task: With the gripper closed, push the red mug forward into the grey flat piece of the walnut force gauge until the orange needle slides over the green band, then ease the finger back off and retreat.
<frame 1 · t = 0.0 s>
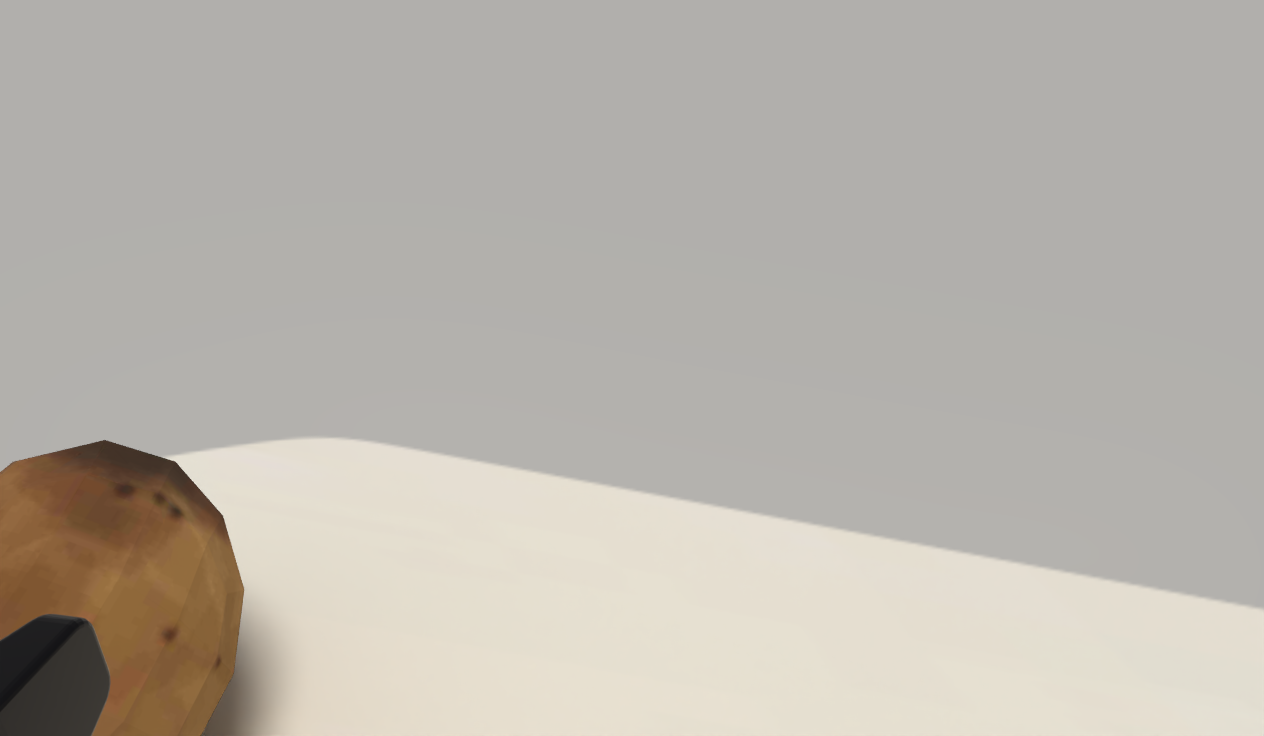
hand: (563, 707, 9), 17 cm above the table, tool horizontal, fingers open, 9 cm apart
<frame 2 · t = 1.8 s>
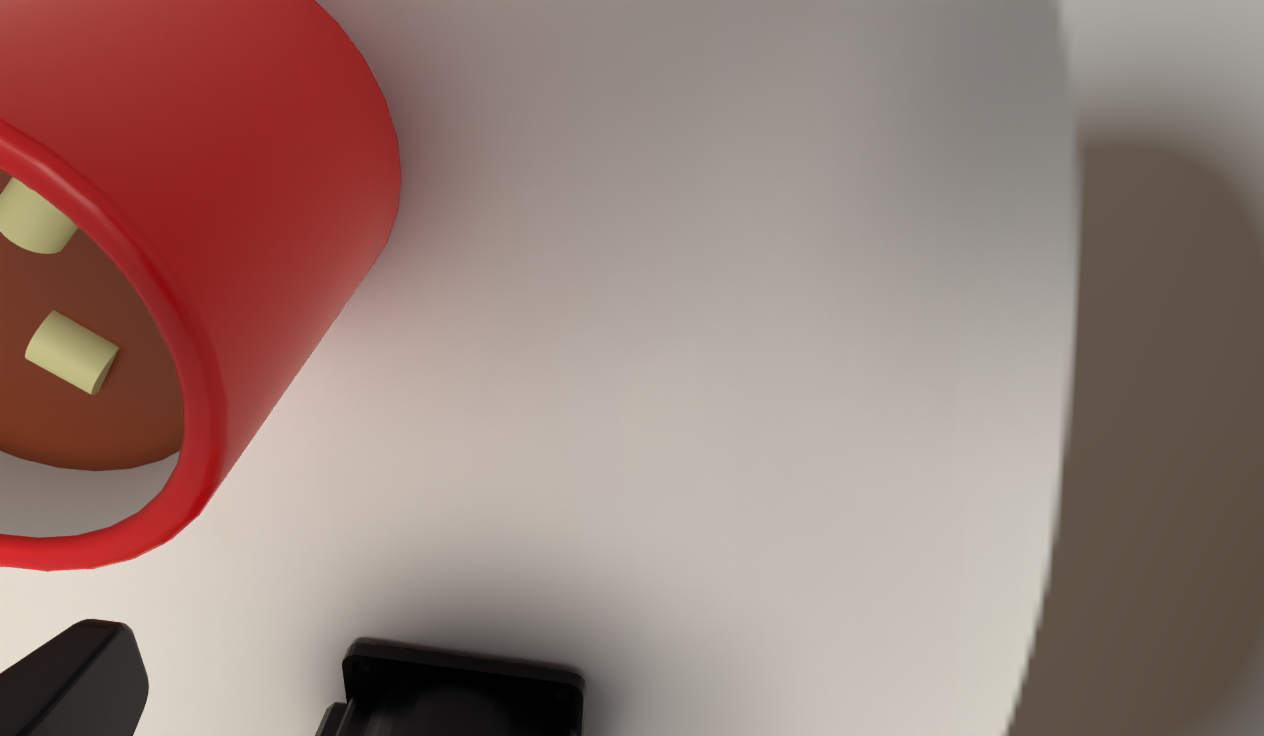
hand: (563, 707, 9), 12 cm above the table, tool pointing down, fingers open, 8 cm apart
mug: (107, 124, 20), on the table
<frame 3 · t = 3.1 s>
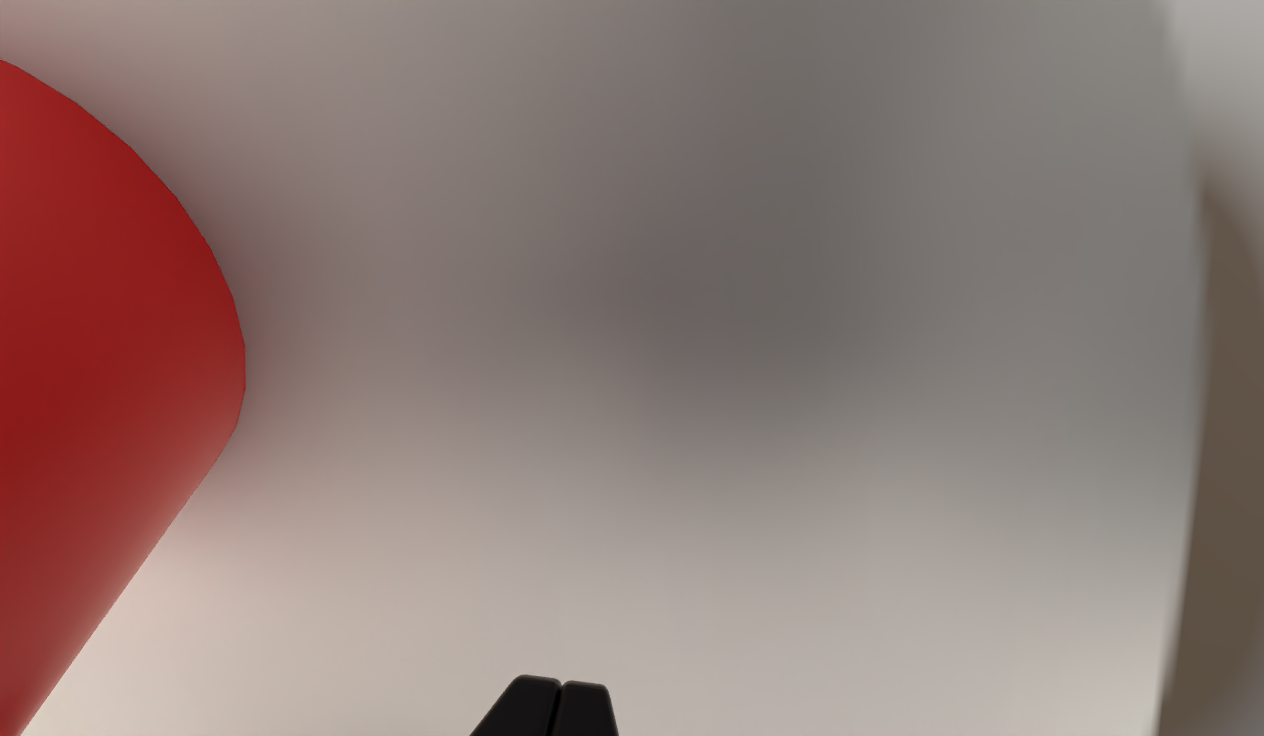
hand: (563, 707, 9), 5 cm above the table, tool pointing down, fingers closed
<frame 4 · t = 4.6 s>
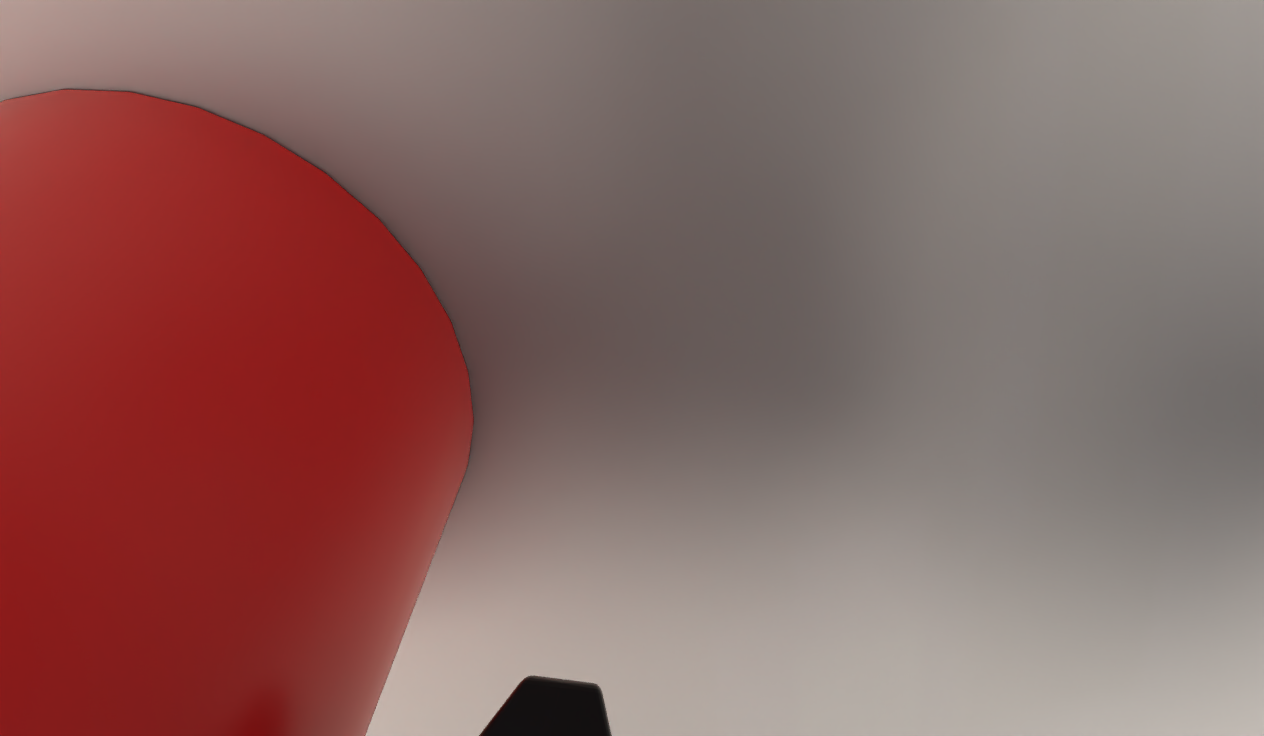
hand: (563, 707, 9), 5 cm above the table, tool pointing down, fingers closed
mug: (40, 349, 14), on the table, touching gripper
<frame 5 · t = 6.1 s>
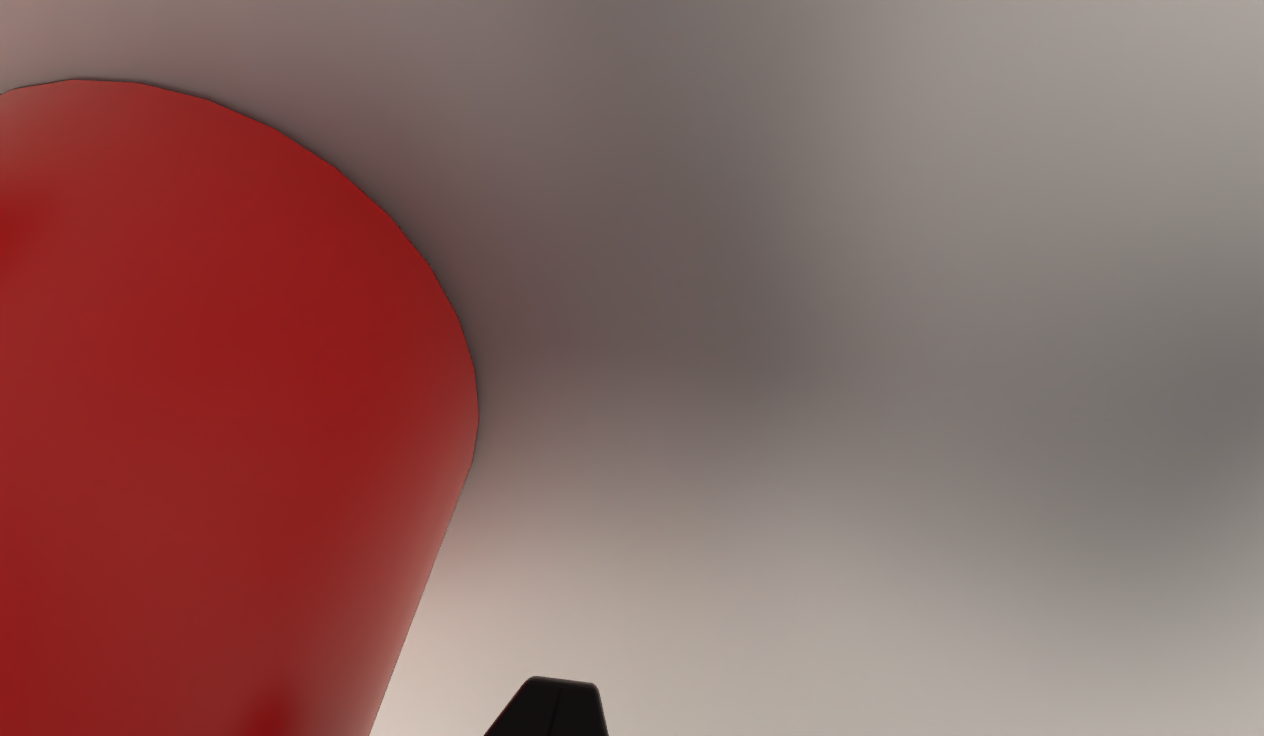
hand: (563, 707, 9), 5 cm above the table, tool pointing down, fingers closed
mug: (44, 340, 14), on the table, touching gripper
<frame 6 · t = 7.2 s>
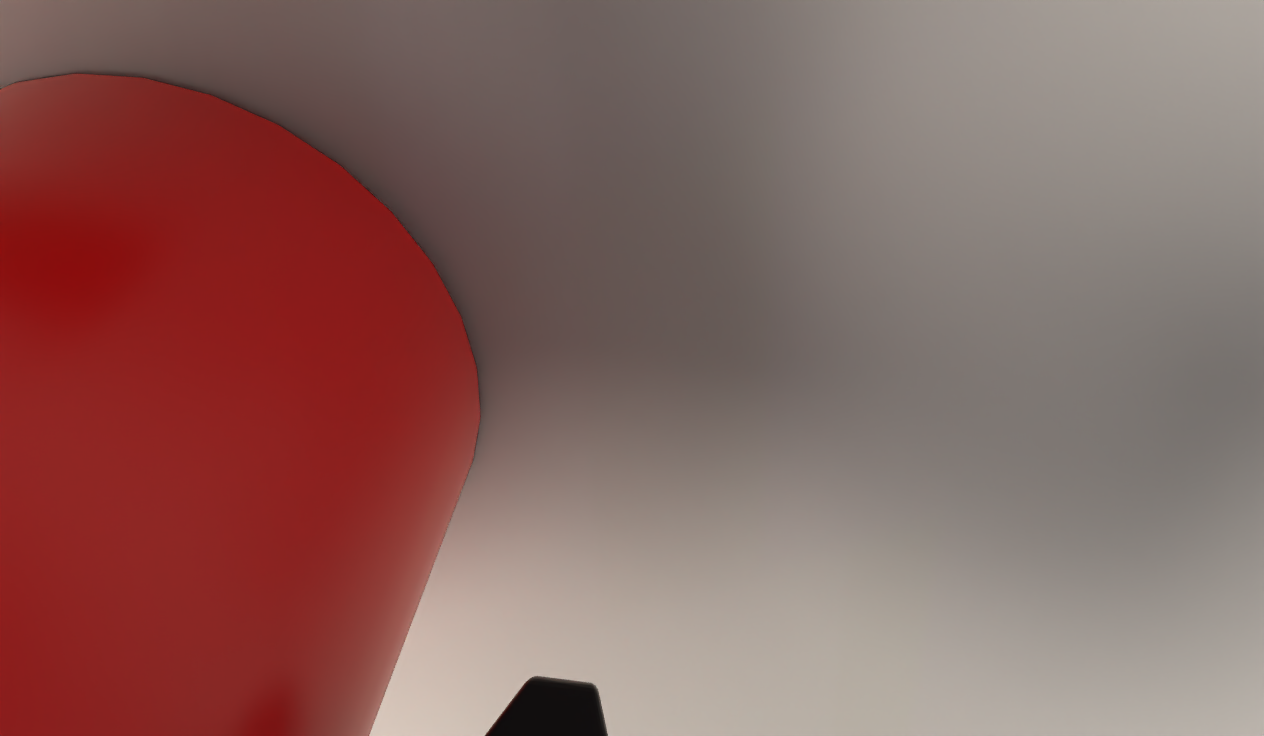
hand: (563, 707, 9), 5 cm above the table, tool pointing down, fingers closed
mug: (44, 334, 14), on the table, touching gripper, grey flat piece
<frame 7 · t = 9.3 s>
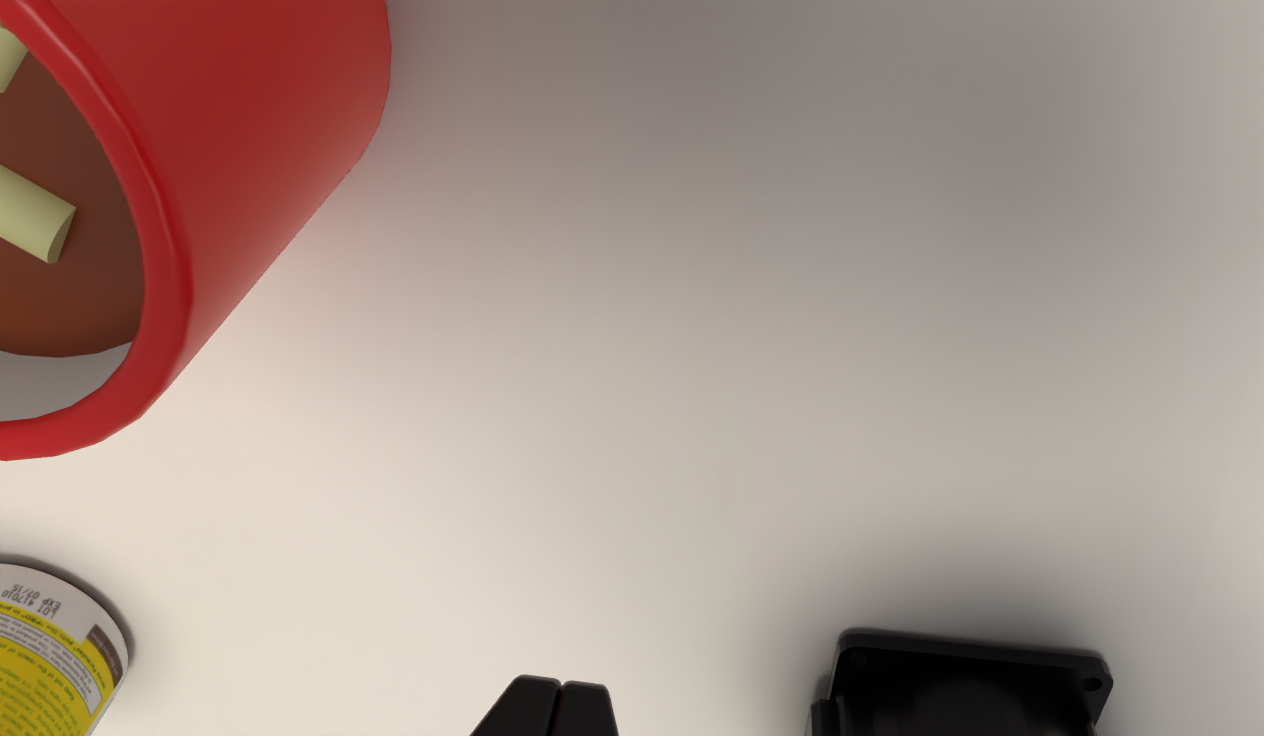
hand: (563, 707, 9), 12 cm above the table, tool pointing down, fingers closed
supplement bottle: (44, 618, 29), on the table
mug: (72, 0, 19), on the table
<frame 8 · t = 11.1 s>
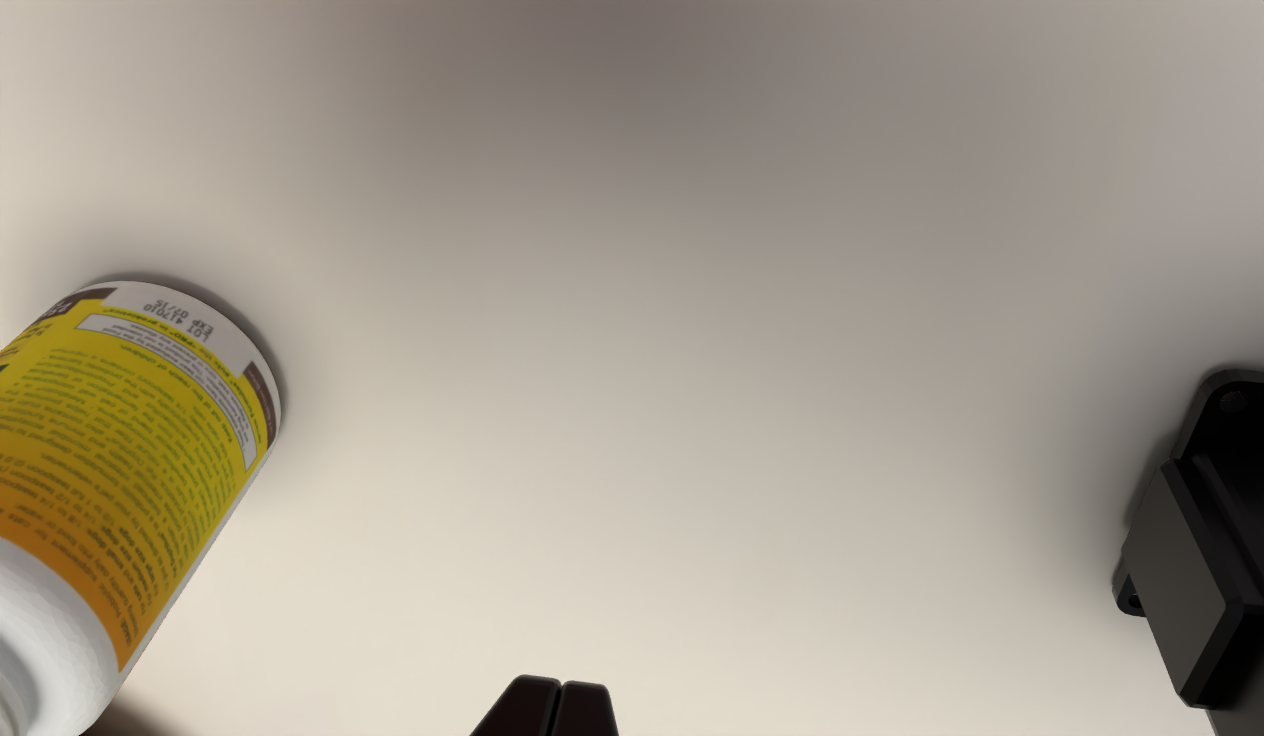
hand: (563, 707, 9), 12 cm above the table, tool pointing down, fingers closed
supplement bottle: (175, 371, 24), on the table
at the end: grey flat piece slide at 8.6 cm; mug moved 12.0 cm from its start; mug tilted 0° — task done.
